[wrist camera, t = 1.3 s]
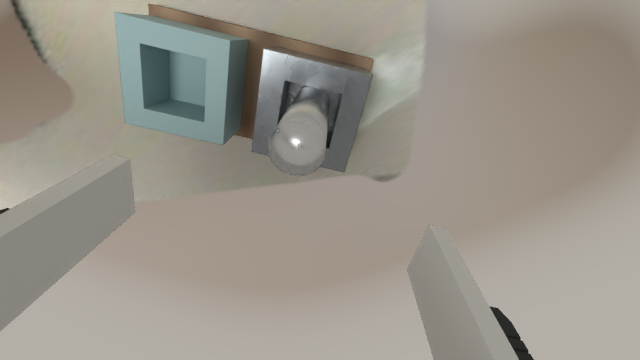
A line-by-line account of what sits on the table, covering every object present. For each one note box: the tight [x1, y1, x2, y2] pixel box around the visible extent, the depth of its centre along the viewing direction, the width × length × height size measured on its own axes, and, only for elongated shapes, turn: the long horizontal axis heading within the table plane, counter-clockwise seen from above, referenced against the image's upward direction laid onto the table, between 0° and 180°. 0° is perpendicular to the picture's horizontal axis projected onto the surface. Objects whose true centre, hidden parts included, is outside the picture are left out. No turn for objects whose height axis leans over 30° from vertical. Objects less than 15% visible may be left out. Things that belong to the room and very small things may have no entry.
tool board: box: [148, 4, 373, 139], centre depth 33 cm, size 24×12×2 cm, turn 77°
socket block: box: [252, 46, 373, 172], centre depth 30 cm, size 10×10×6 cm
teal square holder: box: [114, 12, 248, 145], centre depth 30 cm, size 10×10×6 cm
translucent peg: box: [268, 86, 329, 176], centre depth 26 cm, size 4×4×14 cm
